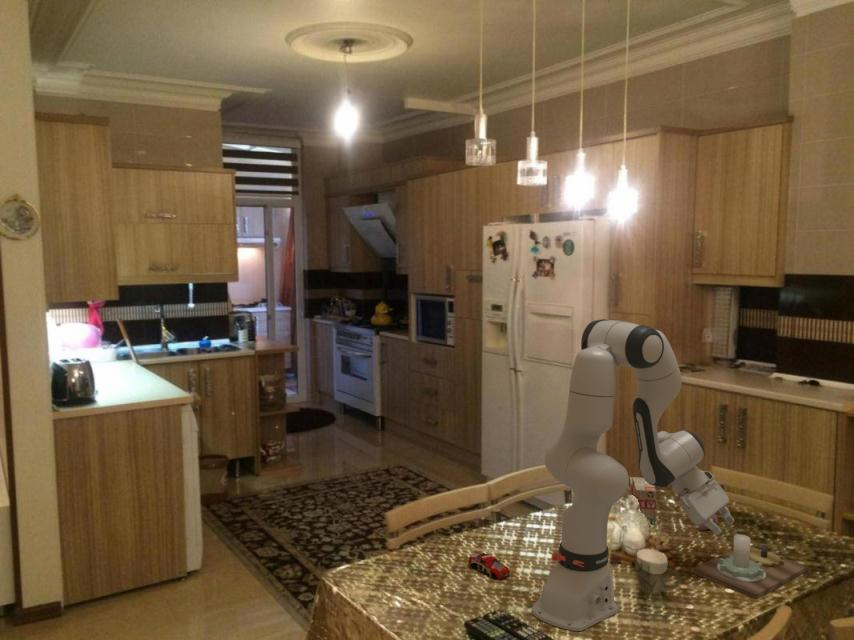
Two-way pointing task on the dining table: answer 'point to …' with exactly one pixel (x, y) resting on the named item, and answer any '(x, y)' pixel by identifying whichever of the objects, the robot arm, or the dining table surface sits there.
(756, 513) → the dining table surface
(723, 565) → the loose gear
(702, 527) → the purple curved piece
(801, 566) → the gear board
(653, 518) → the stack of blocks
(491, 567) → the race car
